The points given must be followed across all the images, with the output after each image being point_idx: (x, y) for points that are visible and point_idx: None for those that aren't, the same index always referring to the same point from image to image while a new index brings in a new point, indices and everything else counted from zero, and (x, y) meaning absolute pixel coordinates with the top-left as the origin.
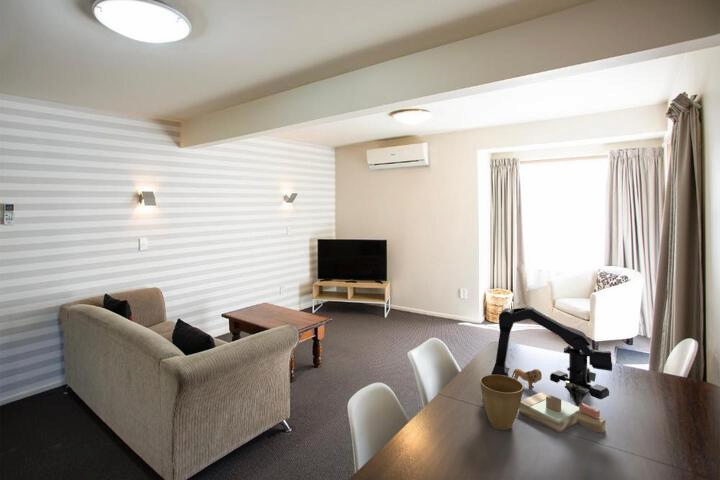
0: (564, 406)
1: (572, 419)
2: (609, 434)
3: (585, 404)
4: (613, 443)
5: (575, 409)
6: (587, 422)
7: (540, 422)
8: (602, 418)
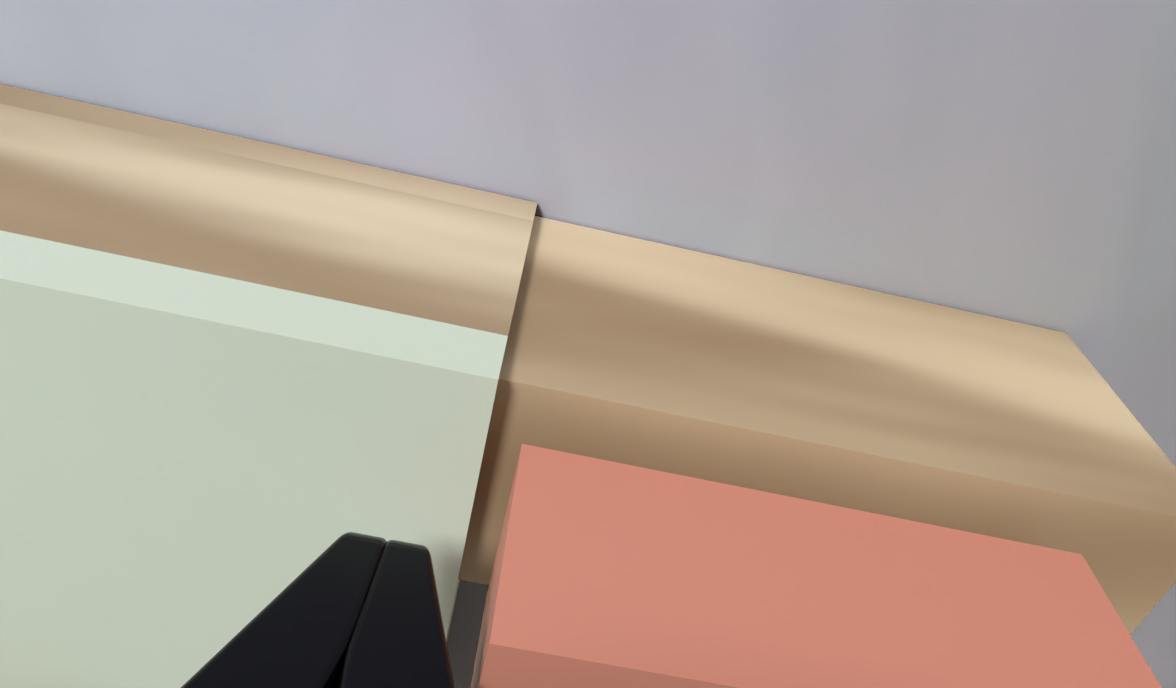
0: (67, 573)
1: (448, 631)
2: (1139, 417)
3: (632, 680)
4: (1170, 630)
5: None
6: None
7: None
8: (1143, 512)
